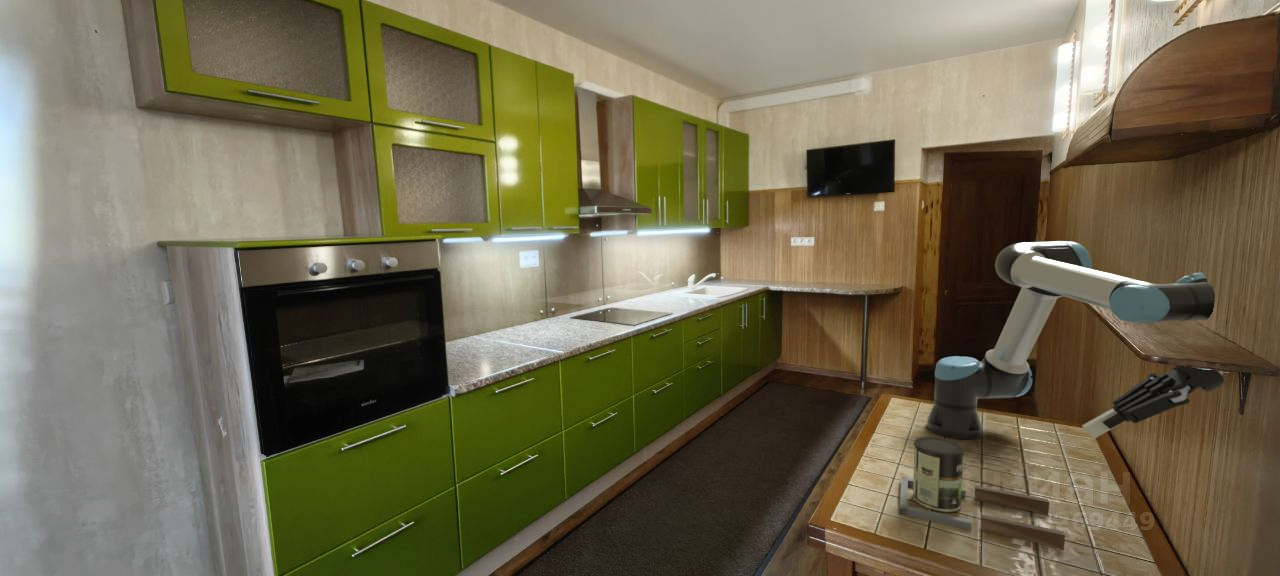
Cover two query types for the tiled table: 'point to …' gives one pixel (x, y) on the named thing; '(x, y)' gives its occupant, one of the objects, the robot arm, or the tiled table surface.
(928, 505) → the coffee can
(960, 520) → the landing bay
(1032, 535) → the chute
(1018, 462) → the tiled table surface
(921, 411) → the tiled table surface
